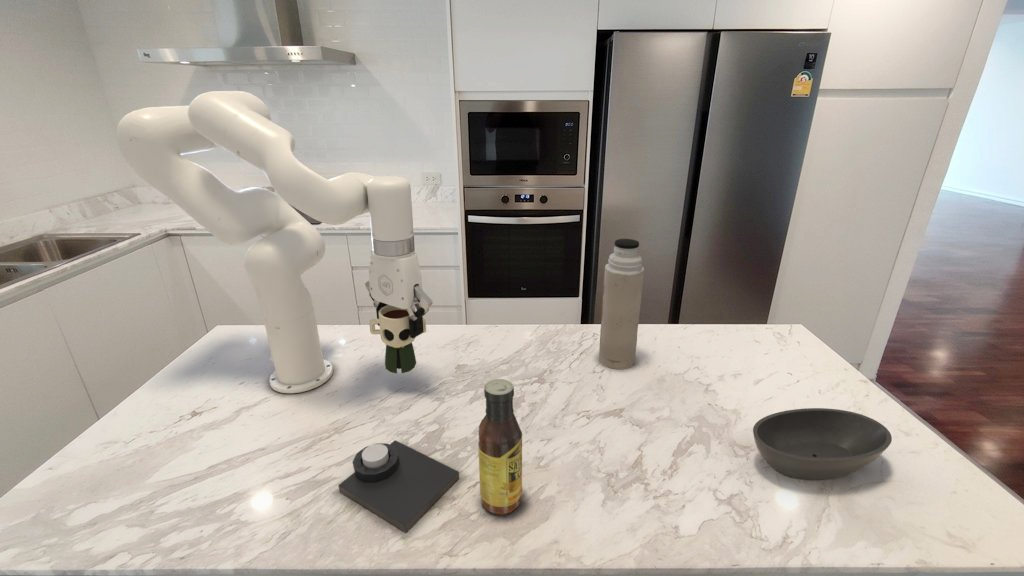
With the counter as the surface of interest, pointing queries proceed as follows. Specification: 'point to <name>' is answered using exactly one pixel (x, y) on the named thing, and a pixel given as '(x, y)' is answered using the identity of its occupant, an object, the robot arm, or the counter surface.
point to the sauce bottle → (500, 450)
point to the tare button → (375, 456)
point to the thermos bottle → (621, 305)
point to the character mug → (396, 338)
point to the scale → (399, 485)
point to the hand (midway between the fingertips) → (400, 328)
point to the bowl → (819, 442)
